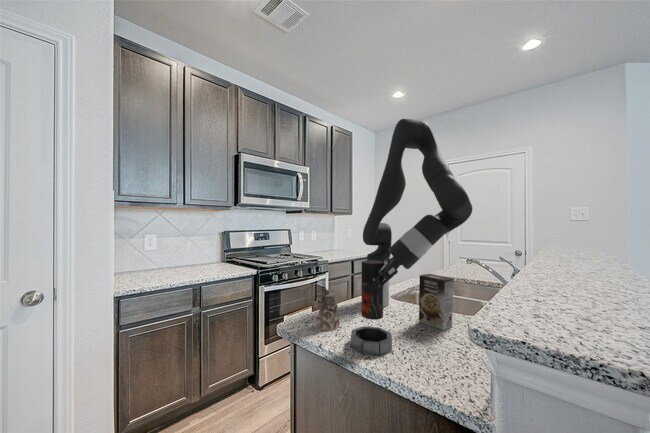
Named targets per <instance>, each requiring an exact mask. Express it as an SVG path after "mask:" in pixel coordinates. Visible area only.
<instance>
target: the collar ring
mask: <svg viewBox="0 0 650 433" xmlns="http://www.w3.org/2000/svg"><path fill="white" fill-rule="evenodd" d="M350 334H351V335H350V348H351V349H353V350H355V351H356V352H358V353H359V354H362V355H367V356H368V355H370V356H378V357H379V356H382V355H386V354H388V353H391V352H392V351H393V337H392V333H391V332H390V331H388V330H387V329H383V328H381V327H376V326H375V327H374V326H361V327H357V328H353V329H351V333H350Z"/></svg>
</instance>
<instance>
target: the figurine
mask: <svg viewBox="0 0 650 433" xmlns="http://www.w3.org/2000/svg"><path fill="white" fill-rule="evenodd" d="M321 302H322V303H321V304H320V305H319V308H318V315H317V321H316V322H317V325H316V326H317V328H318V329H319V330H322V331H327V332H328V331H329V332H332V331H336V330H338V329H339V328H340V317H339V307H338V303H337V299H336V293H335V292H334V291H333V290H332V289H327V288H326V287H324V288H323V294H322V297H321Z"/></svg>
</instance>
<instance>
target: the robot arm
mask: <svg viewBox="0 0 650 433" xmlns="http://www.w3.org/2000/svg"><path fill="white" fill-rule="evenodd" d="M389 146H390V147H389V151H388V155H387V160H386V163H385V166H384V169H383V173H382V175H381V179H380V182H379V185H378V188H377V192H376V195H375V198H374V201H373V205H372V208H371V210H370V213H369V215H368V218H367V220H366V222H365V224H364V227H363V230H362V231H363V232H362V241H363V243H364V244H365V245H367V246H377V248H376V249H375V250H374V251H372V252H370V253H368V254H367V255H366V260H375V261H382V262H383V266H382V267H381V268H380V270H379V271H378V272H377V275H376V276H375V278H373V280H372V281H371V282H370V283H369V284H368V285H366V286H365V287H364V288H363V291H364V292H365V293H366V294H367V295H370V294H371V293H372V292H373V291H374V290H375V289H376V288H377V287H378V286H379V287H382V286H383V307H387V306H389V304H390V280H391V279H392V278H393V277H395V275H397V274H398V272H399V270H398V269H400V267H401V266H402V267H403V269H406V270H410V269H411V268H412V267H413V266H414V265H415V264H416V263H417V262H418V261H419V260H421V258H422V257H424V256H425V255H426V253H428V252H429V250H430V249H431V248H432V247H433V246H434V245H435V244H436V243H437V242H438V241H440V239H441V238H442V237H443V236H444V235H446V234H448V233H450V232H452V231H453V230H455V229H457V228H459V227H460V226H462V225H463V224H465V222H466V221H467V220H468V219H469V218H470V216H471V215H472V213H473V205H472V203H471V199H470V197H469V195H468V193H467V192H466V190H465V189H464V188H463V186H462V185H461V183H459V181H458V180H457V179H456V177H455V176H454V173H453V172H452V171H451V169H450V168H449V165H448V164H447V163H446V162H445V159H444V157H443V156H442V154H441V152H440V149H439V146H438V142H437V141H436V138H435V135H434V132H433V130H432V129H431V126H430V124H429V123H428V122H426V121H424V120H418V119H410V118H401V119H399V121H397V123H396V125H395V127H394V129H393V133H392V136H391V141H390V145H389ZM405 149H413V150H419V152H421V154H422V155H423V162H422V165H421V170H422V171H421V172H422V175H423V178H424V179H425V181H426V184H427V185H428V187H429V189H430V190H431V192H433V195H434V197H435V199H436V201H437V203H438V206H439V207H440V209H441V210H440V211H439V212H438V213H436V214H435V215H432V214H426V215H425V216H423V217H422V218H420V220H419V221H417V223H415V225H414V226H412V227H411V228H410V229H408V230H407V231H405V233H404V234H403V235H402V236H401V237H399V239H397V240H396V241H395V242H394V243H393V244H392V238H393V237H392V235H393V234H392V228H391V225H390V224H389V223H386V222H385V223H384V222H382V220H383V219H384V218H385V217H386V216H387V215H388V214H389V213H390V212H391V211H393V209H395V207H396V206H398V204H399V203H400V202H401V200H402V197H403V194H404V191H405V189H406V186H407V184H406V183H407V182H406V177H405V173H404V170H403V165H402V163H403V162H402V160H403V156H404V153H405ZM391 256H392V257H391ZM380 277H381V278H382V279H383V280H382V281H381V280H380V279H379V278H380Z"/></svg>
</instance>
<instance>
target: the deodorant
mask: <svg viewBox="0 0 650 433" xmlns="http://www.w3.org/2000/svg"><path fill="white" fill-rule="evenodd" d="M382 266H383V262H382V261H375V260H367V259H366V260H362V261H361V314H360V315H361V317H362V318H363V319H366V320H371V321H372V320H373V321H376V320H381V319H383V318H384V306H383V286H382V287H379V286H378V287H377V288H376V289H375V290H374V291H373V292H372V293H371V294H370V295H367V294H366V293H365V292H364V291H363V288H364V287H365V286H366V285H368V284H369V283H370V282H371V281H372V280H373V278H375V276H376V275H377V272H378V271H379V270H380V268H381V267H382ZM379 279H380V280H381V281H382V280H383V279H382V278H381V277H380V278H379Z"/></svg>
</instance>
